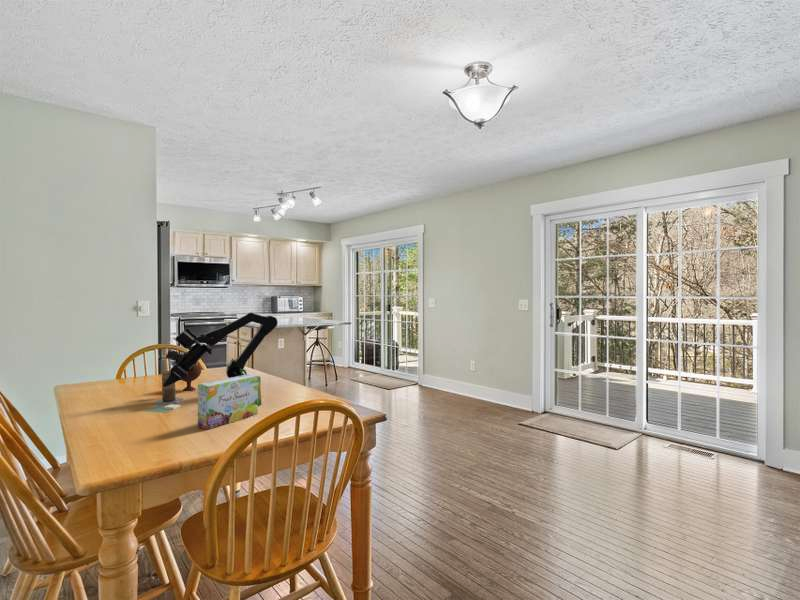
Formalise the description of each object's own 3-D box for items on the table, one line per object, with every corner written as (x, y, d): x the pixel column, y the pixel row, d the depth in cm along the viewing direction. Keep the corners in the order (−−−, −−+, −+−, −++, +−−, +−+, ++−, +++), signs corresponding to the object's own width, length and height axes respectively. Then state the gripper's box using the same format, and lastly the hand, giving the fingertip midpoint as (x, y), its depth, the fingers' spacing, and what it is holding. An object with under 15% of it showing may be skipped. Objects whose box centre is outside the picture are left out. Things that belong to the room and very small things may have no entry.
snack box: (207, 431, 144) (206, 385, 144) (197, 428, 147) (196, 383, 147) (259, 414, 162) (258, 374, 162) (249, 412, 165) (248, 373, 165)
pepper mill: (177, 400, 181) (177, 371, 181) (166, 402, 177) (165, 373, 177) (171, 398, 184) (170, 370, 184) (160, 401, 180) (159, 372, 180)
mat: (181, 407, 172) (181, 404, 172) (166, 413, 164) (166, 410, 164) (159, 406, 174) (159, 403, 174) (143, 412, 166) (143, 408, 166)
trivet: (189, 399, 185) (189, 398, 185) (170, 406, 174) (170, 404, 174) (167, 398, 187) (167, 396, 187) (147, 404, 176) (147, 403, 176)
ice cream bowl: (206, 387, 206) (205, 356, 206) (192, 393, 195) (192, 360, 195) (185, 387, 207) (184, 356, 207) (170, 393, 196) (170, 359, 196)
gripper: (179, 340, 190) (151, 367, 186) (176, 345, 173) (145, 375, 169) (199, 357, 193) (172, 384, 189) (199, 363, 176) (168, 393, 172)
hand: (164, 383), depth 180 cm, fingers open, 9 cm apart
